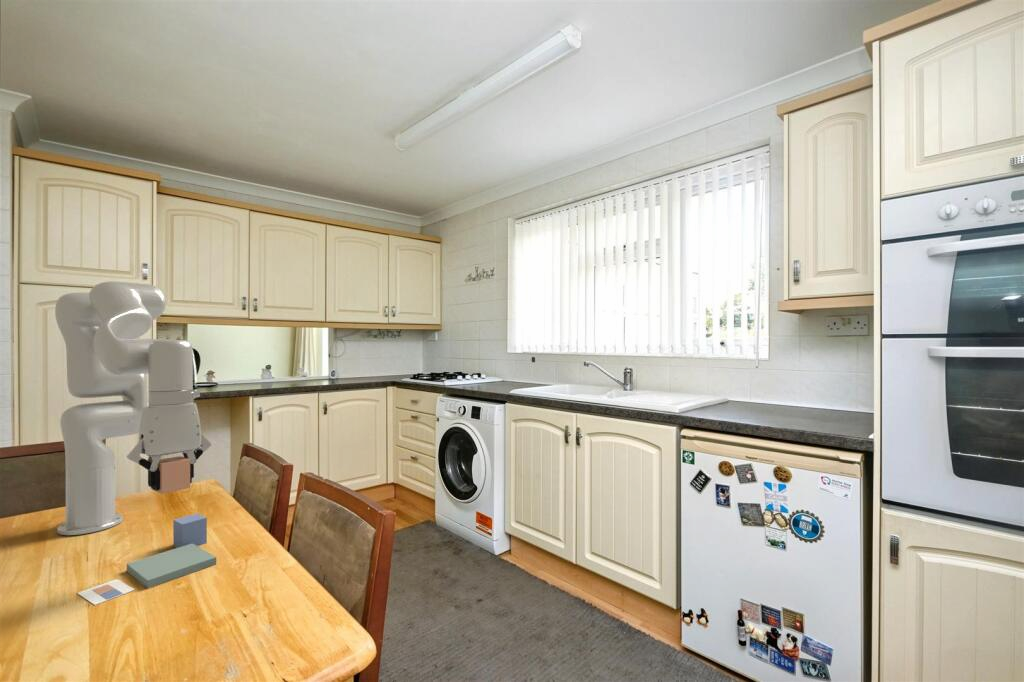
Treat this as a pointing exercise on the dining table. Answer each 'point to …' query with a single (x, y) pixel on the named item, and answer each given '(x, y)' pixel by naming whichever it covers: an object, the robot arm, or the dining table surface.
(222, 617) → the dining table surface
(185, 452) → the robot arm
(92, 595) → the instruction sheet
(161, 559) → the baseplate
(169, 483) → the brick
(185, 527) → the brick
